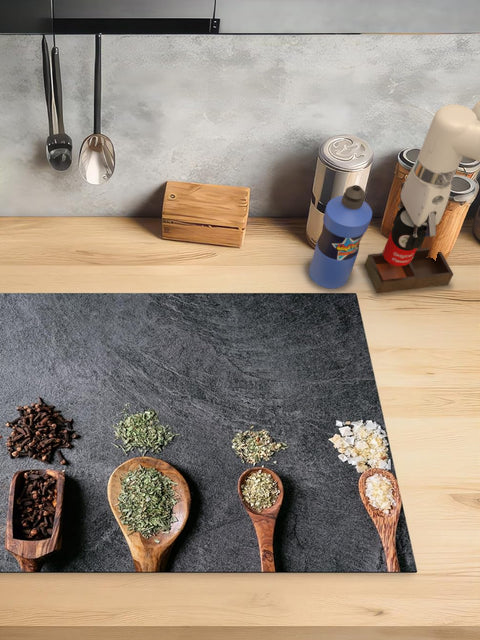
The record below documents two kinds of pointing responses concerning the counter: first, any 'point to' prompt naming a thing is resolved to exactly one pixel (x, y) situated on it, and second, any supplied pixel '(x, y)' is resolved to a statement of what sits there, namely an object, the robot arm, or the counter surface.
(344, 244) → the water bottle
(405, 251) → the beverage can
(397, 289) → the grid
